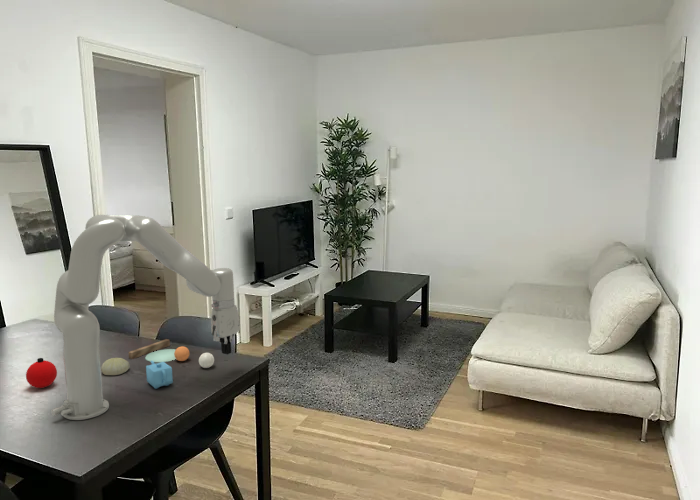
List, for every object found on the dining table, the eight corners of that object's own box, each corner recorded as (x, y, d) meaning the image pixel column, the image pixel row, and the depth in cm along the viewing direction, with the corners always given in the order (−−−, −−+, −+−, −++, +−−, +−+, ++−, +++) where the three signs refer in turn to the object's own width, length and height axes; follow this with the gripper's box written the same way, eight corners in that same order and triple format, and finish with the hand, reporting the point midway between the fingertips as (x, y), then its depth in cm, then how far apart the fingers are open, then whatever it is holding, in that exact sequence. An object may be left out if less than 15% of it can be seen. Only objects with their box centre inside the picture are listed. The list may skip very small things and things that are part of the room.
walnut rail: (132, 359, 203) (131, 353, 202) (128, 358, 204) (128, 352, 203) (169, 345, 218) (169, 339, 218) (166, 344, 219) (166, 339, 219)
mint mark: (161, 364, 197) (161, 364, 197) (137, 357, 204) (137, 357, 204) (190, 353, 209) (190, 353, 209) (166, 347, 216) (166, 346, 216)
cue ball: (206, 371, 191) (205, 356, 190) (195, 368, 194) (195, 353, 193) (217, 366, 196) (217, 352, 195) (207, 363, 199) (206, 349, 198)
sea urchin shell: (121, 373, 185) (105, 356, 185) (108, 386, 187) (92, 370, 187) (136, 363, 194) (121, 347, 194) (123, 376, 196) (109, 361, 196)
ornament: (63, 384, 179) (61, 356, 177) (36, 394, 171) (33, 365, 170) (48, 379, 184) (45, 351, 182) (21, 388, 176) (18, 360, 174)
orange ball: (181, 364, 198) (180, 350, 197) (171, 361, 200) (170, 347, 200) (192, 359, 202) (192, 346, 201) (182, 357, 205) (182, 343, 204)
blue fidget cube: (143, 380, 183) (142, 360, 182) (160, 376, 187) (159, 356, 186) (156, 392, 174) (155, 370, 173) (174, 387, 178) (173, 365, 177)
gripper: (215, 310, 178) (219, 362, 181) (246, 299, 190) (248, 348, 194) (199, 307, 182) (203, 358, 185) (230, 297, 194) (233, 344, 197)
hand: (226, 353), depth 189 cm, fingers closed
